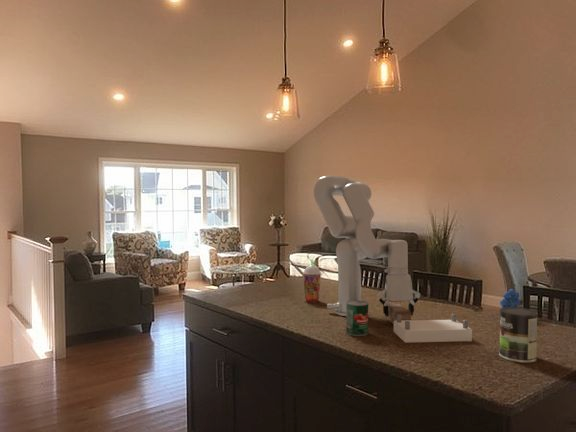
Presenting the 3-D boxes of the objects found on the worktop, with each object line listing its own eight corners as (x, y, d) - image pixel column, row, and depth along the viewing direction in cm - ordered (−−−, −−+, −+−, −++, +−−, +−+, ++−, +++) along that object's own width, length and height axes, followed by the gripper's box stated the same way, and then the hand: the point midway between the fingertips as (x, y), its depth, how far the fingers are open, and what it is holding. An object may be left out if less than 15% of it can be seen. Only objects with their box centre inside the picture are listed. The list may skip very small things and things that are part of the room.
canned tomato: (363, 337, 160) (363, 305, 160) (342, 333, 164) (342, 303, 164) (371, 331, 167) (371, 301, 167) (351, 328, 171) (351, 299, 171)
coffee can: (511, 363, 134) (511, 315, 134) (492, 352, 144) (493, 307, 144) (544, 362, 135) (545, 314, 134) (523, 351, 145) (524, 306, 145)
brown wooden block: (410, 327, 173) (411, 311, 173) (398, 328, 173) (398, 312, 172) (396, 317, 189) (396, 302, 189) (384, 317, 189) (384, 302, 188)
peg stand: (405, 342, 154) (405, 323, 154) (393, 331, 167) (393, 313, 167) (471, 341, 156) (472, 321, 155) (455, 330, 169) (455, 312, 168)
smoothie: (300, 302, 217) (300, 259, 216) (306, 298, 224) (306, 257, 224) (317, 303, 213) (317, 260, 213) (323, 300, 221) (323, 258, 221)
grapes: (508, 314, 192) (509, 286, 191) (524, 318, 186) (524, 288, 186) (491, 318, 186) (491, 288, 185) (506, 322, 180) (506, 291, 180)
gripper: (378, 273, 176) (379, 318, 176) (423, 272, 177) (423, 316, 177) (373, 270, 183) (374, 313, 184) (416, 269, 184) (416, 312, 185)
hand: (398, 315), depth 180 cm, fingers open, 9 cm apart
